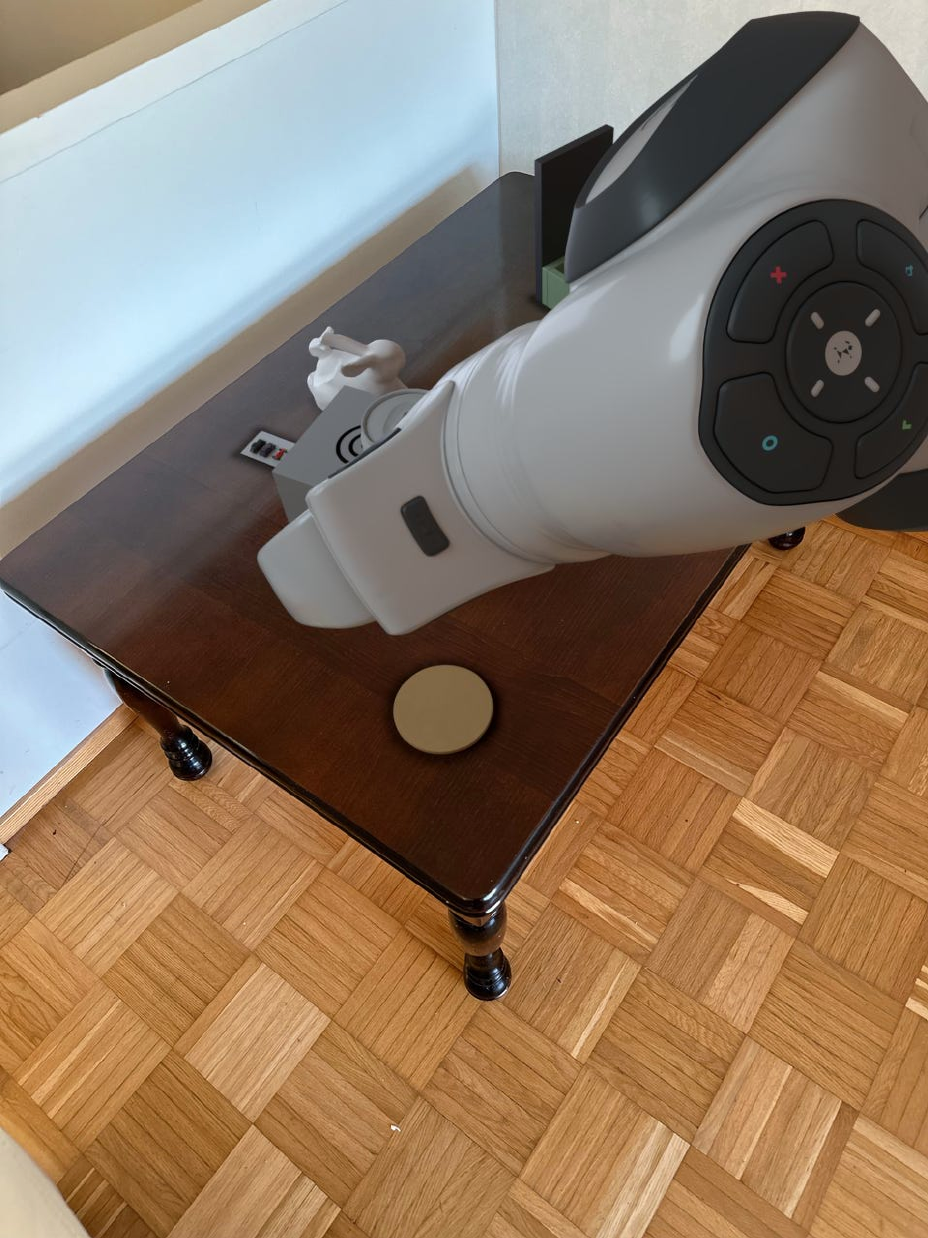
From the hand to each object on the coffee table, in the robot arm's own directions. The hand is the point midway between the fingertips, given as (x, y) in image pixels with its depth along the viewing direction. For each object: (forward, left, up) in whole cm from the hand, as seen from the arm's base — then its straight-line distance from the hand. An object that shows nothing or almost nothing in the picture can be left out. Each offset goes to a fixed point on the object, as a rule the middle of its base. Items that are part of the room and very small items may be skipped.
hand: (413, 491), depth 48 cm
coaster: (0, +2, -20) cm, 20 cm away
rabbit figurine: (+10, -28, -20) cm, 36 cm away
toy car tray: (+16, -23, -20) cm, 35 cm away
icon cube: (+6, -14, -20) cm, 26 cm away
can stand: (-12, -44, -20) cm, 50 cm away
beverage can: (0, 0, -7) cm, 7 cm away
